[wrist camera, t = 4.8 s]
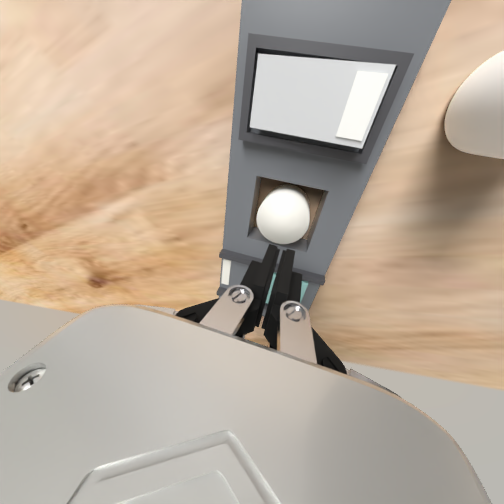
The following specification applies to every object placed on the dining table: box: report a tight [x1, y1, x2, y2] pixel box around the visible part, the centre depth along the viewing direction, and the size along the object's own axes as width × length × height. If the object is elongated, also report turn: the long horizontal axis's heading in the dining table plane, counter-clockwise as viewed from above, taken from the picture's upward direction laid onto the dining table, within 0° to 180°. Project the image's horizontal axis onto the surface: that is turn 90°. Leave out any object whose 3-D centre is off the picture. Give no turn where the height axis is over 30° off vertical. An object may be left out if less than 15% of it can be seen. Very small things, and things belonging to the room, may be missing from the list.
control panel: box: [217, 0, 451, 317], centre depth 20 cm, size 12×30×4 cm, turn 172°
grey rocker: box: [250, 54, 396, 148], centre depth 13 cm, size 8×4×1 cm, turn 82°
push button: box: [256, 184, 310, 244], centre depth 20 cm, size 5×5×4 cm
